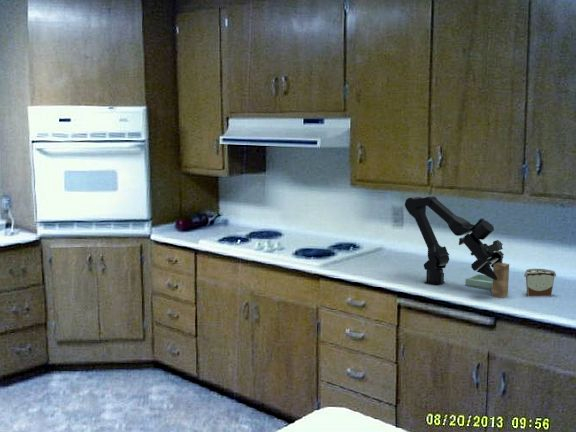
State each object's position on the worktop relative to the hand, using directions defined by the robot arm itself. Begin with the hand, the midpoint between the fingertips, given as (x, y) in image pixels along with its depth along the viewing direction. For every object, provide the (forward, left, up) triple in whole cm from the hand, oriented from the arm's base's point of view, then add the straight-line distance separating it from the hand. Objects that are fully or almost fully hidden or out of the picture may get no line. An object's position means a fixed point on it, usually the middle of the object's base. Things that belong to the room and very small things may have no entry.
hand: (501, 277), depth 255 cm
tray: (-12, +12, -8) cm, 19 cm away
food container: (+10, +12, -8) cm, 17 cm away
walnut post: (0, 0, -8) cm, 8 cm away
